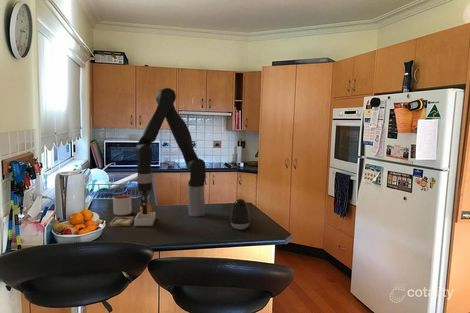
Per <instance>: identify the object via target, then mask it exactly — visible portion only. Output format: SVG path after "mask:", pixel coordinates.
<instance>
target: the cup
mask: <svg viewBox="0 0 470 313" xmlns="http://www.w3.org/2000/svg"><path fill="white" fill-rule="evenodd" d="M112 202H113V203H112V205H113V207H112V208H113V210H112V211H113V215H115V216H119V217H123V216H128V215H130V214H131V213H132V211H133V210H132V195H127V194H123V195H122V194H120V195H115V196H113V198H112Z"/></svg>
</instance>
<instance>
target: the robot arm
mask: <svg viewBox="0 0 470 313" xmlns="http://www.w3.org/2000/svg"><path fill="white" fill-rule="evenodd" d="M176 95H177V94H176V91H175V90H173V89H172V88H171V87H165V88H162V89H159V90H158V91H157V92H156V94H155V101H156V103H157V106H156V109H155V110H154V113H153V115H152V116H151V117H150V119H149V120H148V122H147V124H146V126H145V128H144V131H143V134H142V136H141V137H140V138H139V140H138V142H137V143H136V146H135V148H134V152H135V155H136V157H139V159H138V163H137V164H136V170H137V177H136V180H137V181H136V182H137V191H138V192H141V194H140V203H141V204H140V207H141V206H142V207H143V214H147V204H149V205H150V192H151V191H153V176H152V160H153V148H152V147H151V145H152V143H153V142H155V141H156V140H157V137H158V135H159V132H160V129H161V128H162V125H163V123H164V121H165V120H166V122H167V125H168V127H169V129H170V132H171V134H172V136H173V138H174V140H175V142H176V144H177V147H178V149H179V150H180V152H181V154H182V156H183V159H184V162H185V166H186V168H187V170H188V172H189V173H190V177H189V180H188V182H187V184H188V186H187V187H188V188H187V189H188V192H187V193H188V194H187V195H188V196H187V197H188V199H187V200H188V201H187V202H188V206H187V207H188V216H189V217H202V216H203V217H204V216H205V213H206V212H205V208H206V207H205V204H206V203H205V200H206V199H205V182H206V179H207V178H206V175H207V166H206V165H207V164H206V162H205V161H204V160H203V159H202V158H199V157H198V155H197V153H196V151H195V149H194V145H193V139H192V135H191V132H190V130H189V127H188V125H187V123H186V122H185V121H184V119H183V118H182V117H181V116H180V114H179V113H178V111H177V110H176V107H175V105H174V103H175V101H176V99H177V96H176ZM143 204H145V205H143Z"/></svg>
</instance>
